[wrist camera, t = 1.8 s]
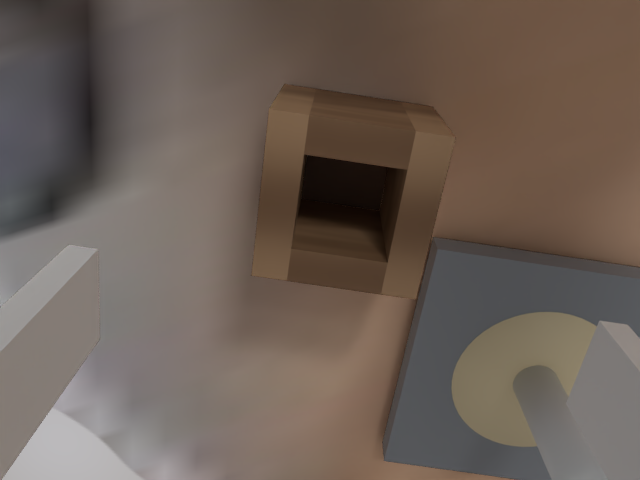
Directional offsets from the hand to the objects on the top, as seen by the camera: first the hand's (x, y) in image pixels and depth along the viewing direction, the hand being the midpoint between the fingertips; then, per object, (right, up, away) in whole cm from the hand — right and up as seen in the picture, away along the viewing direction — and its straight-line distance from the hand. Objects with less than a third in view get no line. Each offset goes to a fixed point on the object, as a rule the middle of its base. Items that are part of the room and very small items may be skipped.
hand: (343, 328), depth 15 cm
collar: (+1, +6, +13) cm, 14 cm away
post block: (+11, -5, +17) cm, 21 cm away
